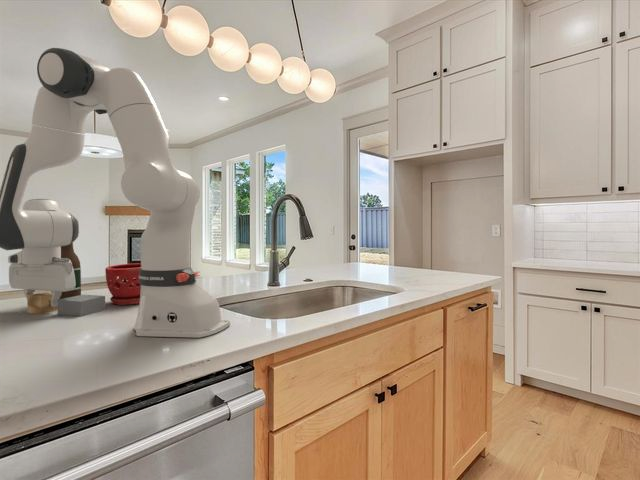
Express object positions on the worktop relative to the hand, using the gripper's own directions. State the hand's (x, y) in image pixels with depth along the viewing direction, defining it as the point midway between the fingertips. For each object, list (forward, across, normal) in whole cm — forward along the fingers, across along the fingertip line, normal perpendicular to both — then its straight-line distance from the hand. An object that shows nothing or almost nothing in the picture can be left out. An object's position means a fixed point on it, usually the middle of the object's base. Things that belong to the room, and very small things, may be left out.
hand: (43, 305), depth 103 cm
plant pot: (+2, -14, -17) cm, 22 cm away
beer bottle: (+2, +4, -11) cm, 12 cm away
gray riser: (+2, -11, -3) cm, 11 cm away
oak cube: (+2, 0, 0) cm, 2 cm away
